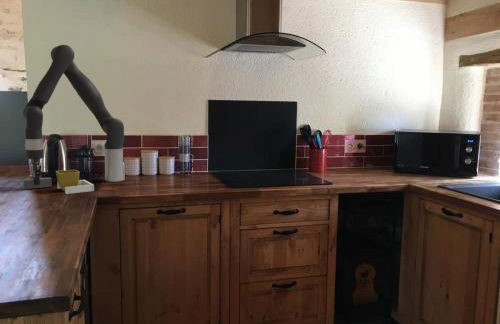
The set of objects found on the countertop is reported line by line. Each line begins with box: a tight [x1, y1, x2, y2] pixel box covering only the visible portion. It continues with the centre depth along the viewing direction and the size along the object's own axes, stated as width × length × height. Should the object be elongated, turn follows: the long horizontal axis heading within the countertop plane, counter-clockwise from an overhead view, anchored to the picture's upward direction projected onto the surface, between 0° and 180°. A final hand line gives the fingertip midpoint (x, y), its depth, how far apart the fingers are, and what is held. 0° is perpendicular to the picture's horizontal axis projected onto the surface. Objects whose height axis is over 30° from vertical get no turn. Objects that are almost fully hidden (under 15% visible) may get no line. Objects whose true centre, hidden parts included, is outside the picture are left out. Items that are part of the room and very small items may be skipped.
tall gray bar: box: [21, 177, 53, 190], centre depth 195 cm, size 12×3×4 cm, turn 128°
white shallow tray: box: [56, 179, 95, 195], centre depth 193 cm, size 12×15×3 cm
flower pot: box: [55, 169, 80, 192], centre depth 192 cm, size 9×9×9 cm
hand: (36, 184), depth 195 cm, fingers closed on tall gray bar, 3 cm apart
